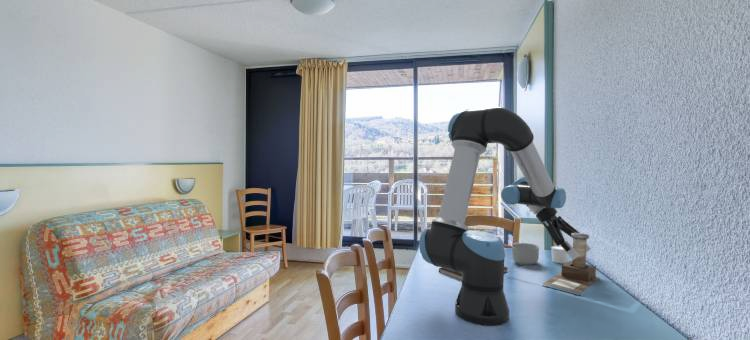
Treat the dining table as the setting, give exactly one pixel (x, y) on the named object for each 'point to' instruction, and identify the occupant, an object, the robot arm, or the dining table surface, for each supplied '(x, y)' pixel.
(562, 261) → the short white cylinder
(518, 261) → the teacup
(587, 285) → the socket board
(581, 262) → the capped plug
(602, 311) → the dining table surface
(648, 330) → the dining table surface
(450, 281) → the dining table surface
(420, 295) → the dining table surface
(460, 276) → the hardcover book
